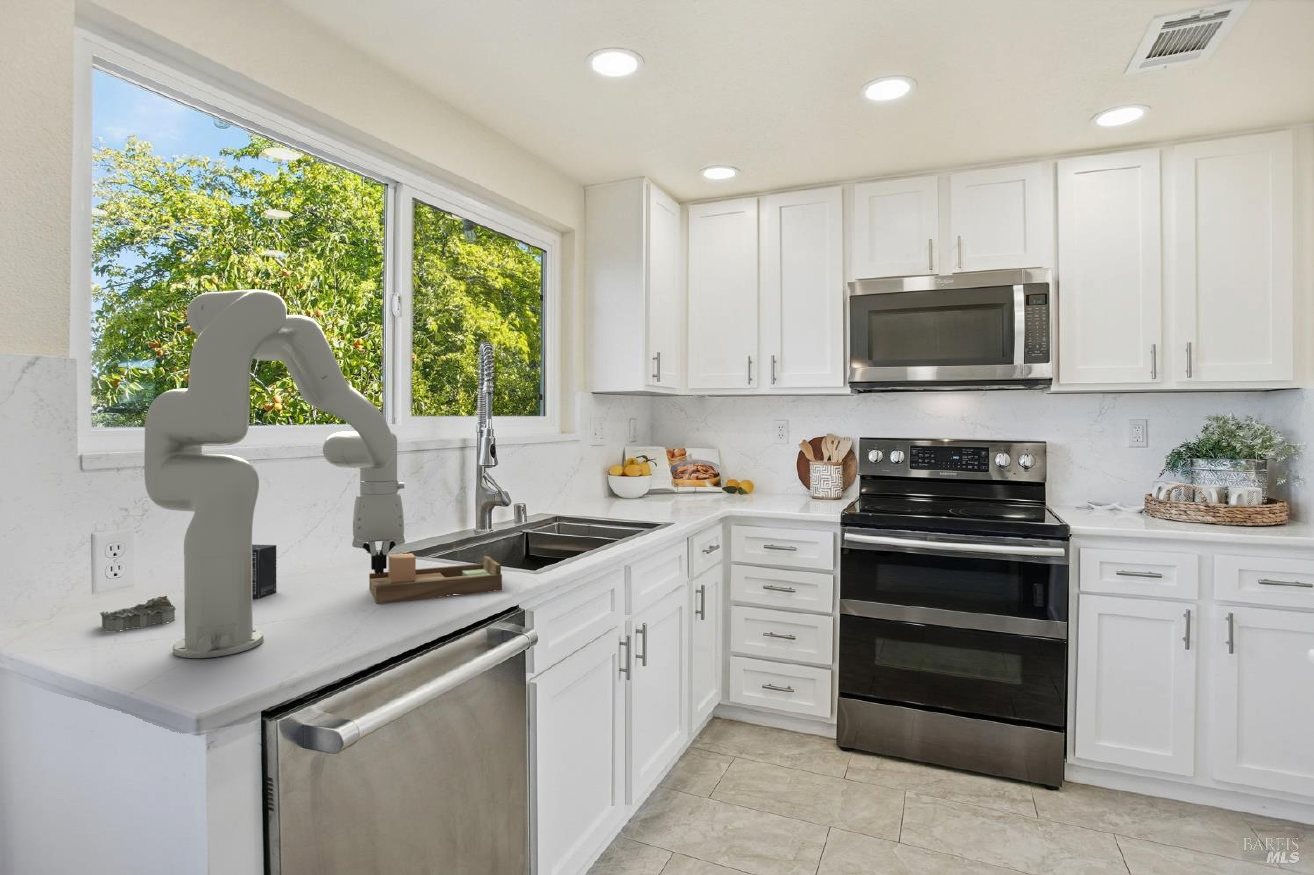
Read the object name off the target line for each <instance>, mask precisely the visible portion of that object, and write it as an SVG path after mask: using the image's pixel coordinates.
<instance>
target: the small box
mask: <svg viewBox="0 0 1314 875" xmlns="http://www.w3.org/2000/svg"><path fill="white" fill-rule="evenodd" d="M274 593H277V544H252V599H260V598H263V597H266V596H269V595H271V594H274Z"/></svg>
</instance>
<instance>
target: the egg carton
mask: <svg viewBox="0 0 1314 875" xmlns="http://www.w3.org/2000/svg"><path fill="white" fill-rule="evenodd" d="M176 610H177V608H176V607H175V606H174V605H172V603H171V601H170V600H169V598H168V596H167V595H165V596H158V597H153V598H151V599H148V600H147V601H146V602H145V603H138V604H136V605H134V606H132V607H128V608H127V607H126V608H121V609H117V610H115V611H110V612H109V611H106V612H105V611H101V612H100V613H99V614H100V616H101V628H102V627H106V628H104V629H105V630H106V631H120V630H123V629H125V630H127V629H126V628H129V629H133V628H132V627H139V628H138V629H143V628H142V627H144V628H147V627H148V626H147V625H149V624H152V625H154V624H153V623H167V622H169V623H170V621H171V622H174V621H175V620H176V616H175V614H176V612H175V611H176ZM173 620H174V621H173ZM167 624H168V623H167ZM149 626H150V625H149ZM106 631H105V632H106ZM123 631H124V630H123ZM120 632H121V631H120Z"/></svg>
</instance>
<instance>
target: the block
mask: <svg viewBox="0 0 1314 875" xmlns="http://www.w3.org/2000/svg"><path fill="white" fill-rule="evenodd" d="M387 555H388V557H387V558H388V559H387V560H388V562H387V563H388V567H387V568H388V570H387V572H388V577H389V579H390V581H391V582H396V581H407V580H416V569H417V568H416V556H415V555H414V554H413V553H412V552H411V553H399V554H387Z"/></svg>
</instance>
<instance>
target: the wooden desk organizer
mask: <svg viewBox="0 0 1314 875" xmlns="http://www.w3.org/2000/svg"><path fill="white" fill-rule="evenodd" d="M482 557H483V558H482V563H473V564H464V565H451V566H441V567H439V566H437V567H429V568H416V580H407V581H396V582H391V581H390V579H389V577H388V571H384V573H382V574H381V573H380V572H379V573H378V574H375V572H369V576H368V578H369V580H368V582H369V584H368V586H369V587H368V588H369V589H368V590H369V591H370V594H371V595H372V596H371V597H373V600H374V602H375V603H376V605H377V604H385V603H395V602H394V601H397V602H403V601H413V600H414V601H415V600H424V598H425V599H432V598H431V597H435V598H440V597H439V596H445V597H448V596H447V595H453V594H464V595H471V594H482V592H483V593H489V592H488V591H493V592H495V591H494V590H502V591H503V574H502V567H501V566H502V564H500V563H499V562H497V561H496V560H494V559H493V558H492V557H490V556H488V555H483V556H482Z"/></svg>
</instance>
